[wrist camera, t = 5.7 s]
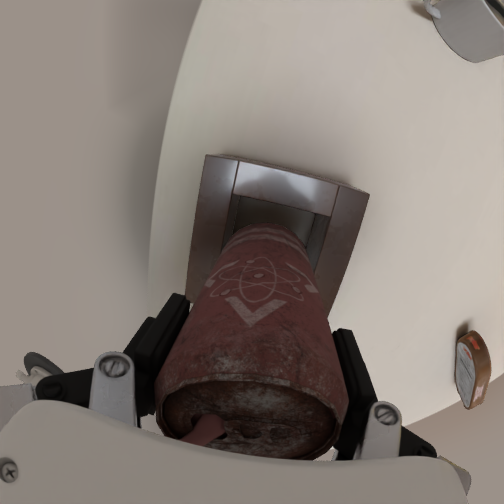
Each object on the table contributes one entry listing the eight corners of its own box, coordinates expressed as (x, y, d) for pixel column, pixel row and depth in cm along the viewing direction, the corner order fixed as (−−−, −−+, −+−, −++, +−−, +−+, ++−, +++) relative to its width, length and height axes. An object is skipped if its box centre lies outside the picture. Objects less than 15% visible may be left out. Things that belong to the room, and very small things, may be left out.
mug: (491, 44, 14) (537, 30, 5) (471, 77, 18) (526, 65, 8) (433, -16, 13) (468, -47, 3) (404, 9, 16) (444, -29, 7)
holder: (201, 272, 29) (183, 301, 23) (221, 154, 24) (205, 154, 19) (314, 298, 28) (321, 331, 23) (349, 185, 24) (370, 194, 18)
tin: (464, 378, 32) (483, 410, 24) (450, 387, 33) (467, 420, 25) (468, 319, 28) (498, 354, 20) (452, 329, 29) (480, 366, 21)
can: (203, 258, 20) (106, 412, 7) (271, 202, 18) (261, 326, 5) (256, 315, 21) (234, 486, 8) (323, 268, 19) (384, 439, 6)
